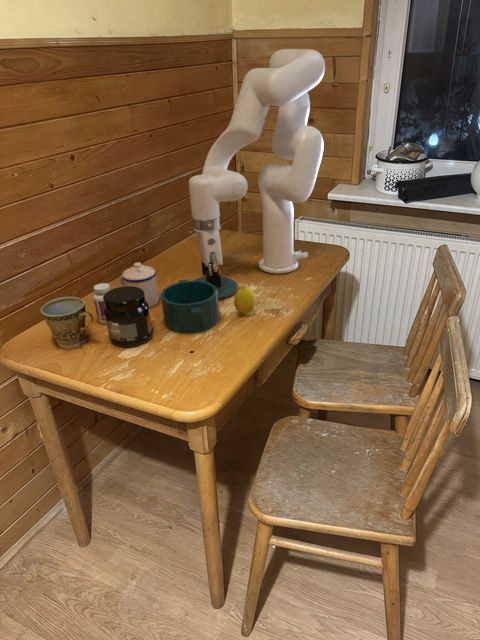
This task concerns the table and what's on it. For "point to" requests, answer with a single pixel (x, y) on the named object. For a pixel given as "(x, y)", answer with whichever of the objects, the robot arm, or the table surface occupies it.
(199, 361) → the table surface
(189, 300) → the cooker
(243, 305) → the lemon
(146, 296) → the teacup with lid
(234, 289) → the cooker lid
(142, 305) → the supplement container
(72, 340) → the ceramic cup
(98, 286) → the pill bottle
